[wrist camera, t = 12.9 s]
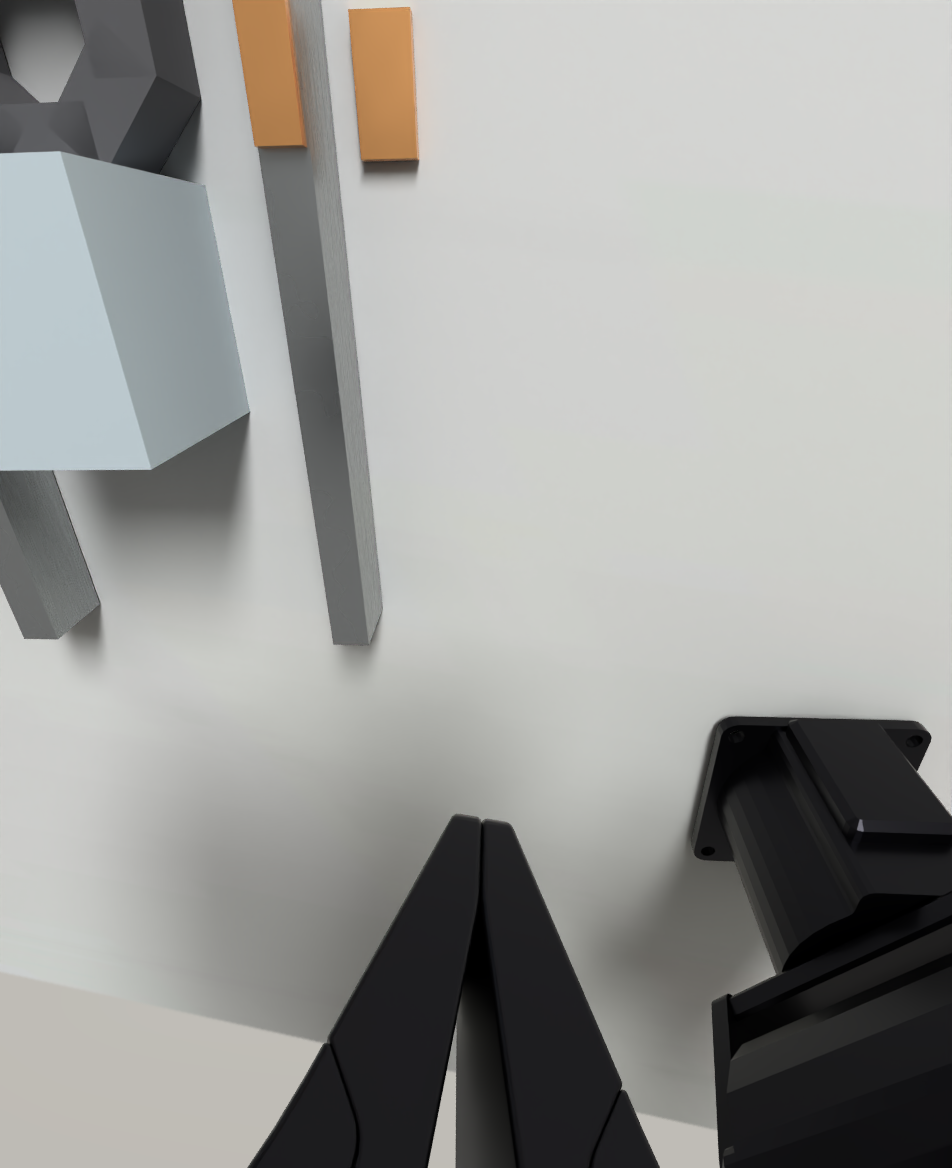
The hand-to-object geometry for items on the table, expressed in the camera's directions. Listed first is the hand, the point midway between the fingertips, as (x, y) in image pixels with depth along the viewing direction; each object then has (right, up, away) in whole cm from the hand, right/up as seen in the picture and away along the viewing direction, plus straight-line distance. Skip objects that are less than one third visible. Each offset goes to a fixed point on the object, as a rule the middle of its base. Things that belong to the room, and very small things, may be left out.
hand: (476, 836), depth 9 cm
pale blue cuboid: (-8, +10, +6) cm, 15 cm away
